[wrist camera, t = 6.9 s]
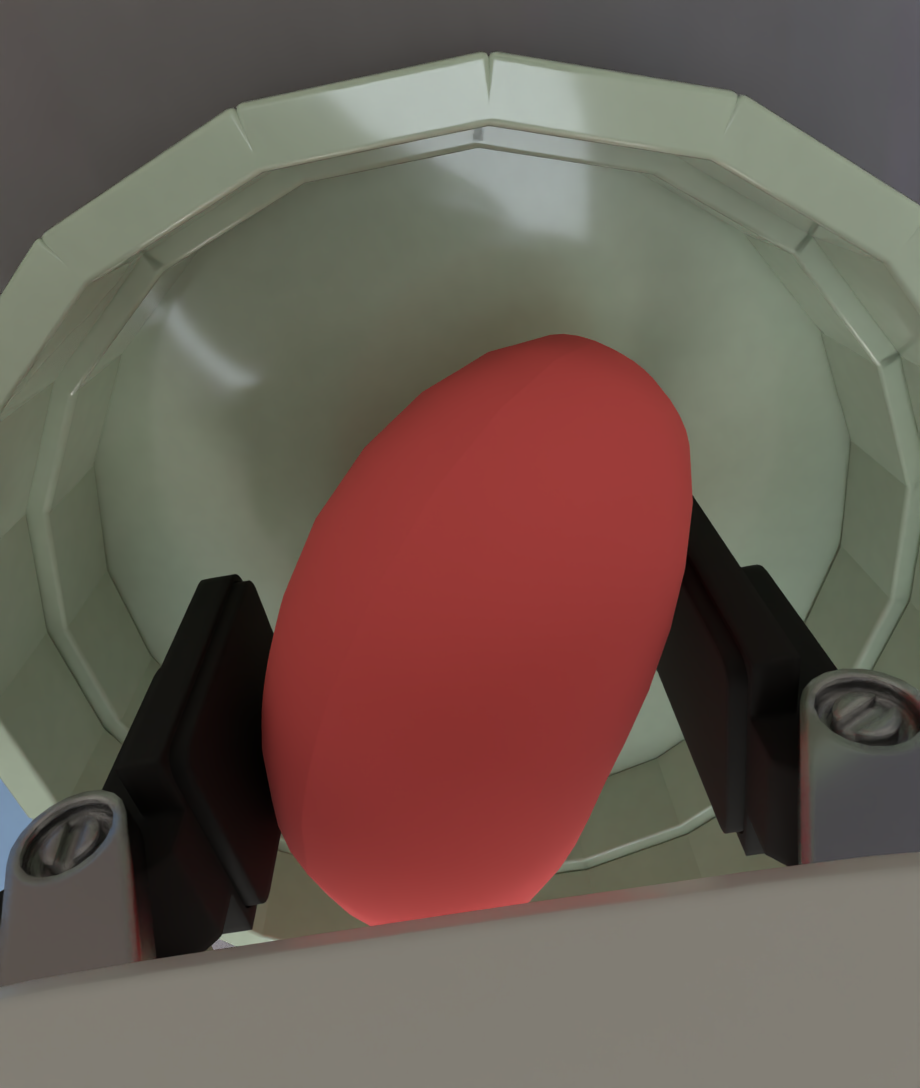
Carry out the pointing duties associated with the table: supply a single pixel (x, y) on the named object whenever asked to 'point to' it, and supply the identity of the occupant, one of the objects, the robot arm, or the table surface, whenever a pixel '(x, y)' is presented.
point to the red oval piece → (477, 631)
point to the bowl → (432, 355)
